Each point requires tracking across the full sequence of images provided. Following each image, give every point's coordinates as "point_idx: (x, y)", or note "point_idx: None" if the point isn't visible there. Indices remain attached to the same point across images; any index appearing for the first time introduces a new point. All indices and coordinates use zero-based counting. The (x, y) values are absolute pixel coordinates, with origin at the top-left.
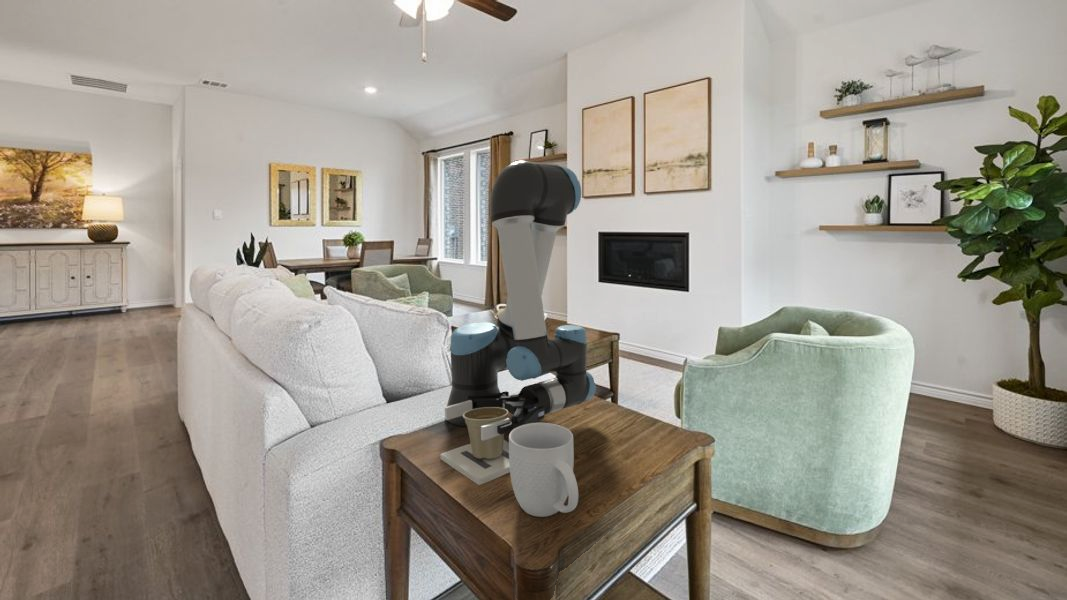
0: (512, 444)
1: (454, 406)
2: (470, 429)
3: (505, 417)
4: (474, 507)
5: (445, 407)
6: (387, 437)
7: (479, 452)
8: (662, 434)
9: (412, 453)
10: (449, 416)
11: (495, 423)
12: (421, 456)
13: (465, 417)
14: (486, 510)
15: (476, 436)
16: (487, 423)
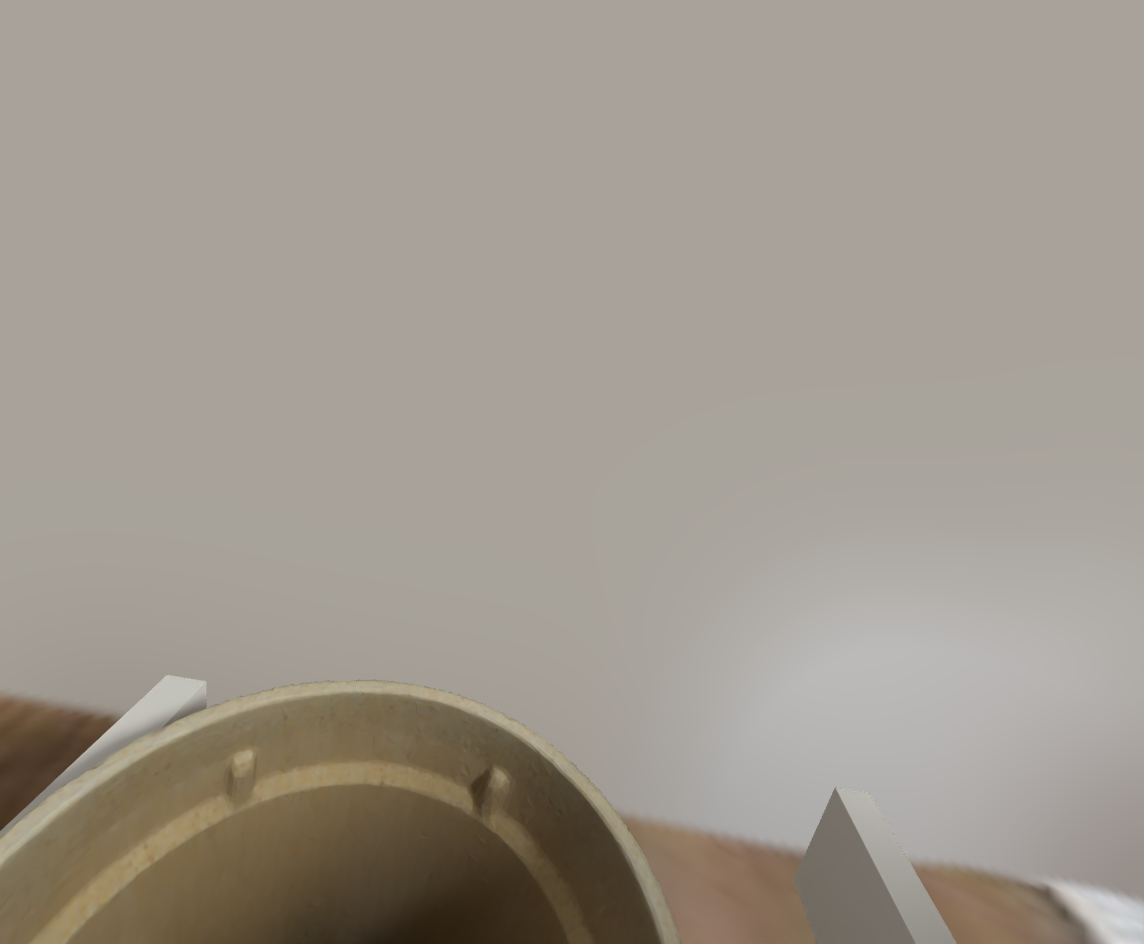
0: None
1: (882, 889)
2: (406, 812)
3: None
4: (100, 723)
5: (858, 793)
6: (1061, 900)
7: None
8: None
9: (787, 870)
10: (814, 887)
11: (24, 808)
12: (725, 881)
13: (464, 700)
14: (14, 734)
15: (321, 859)
16: (171, 786)
